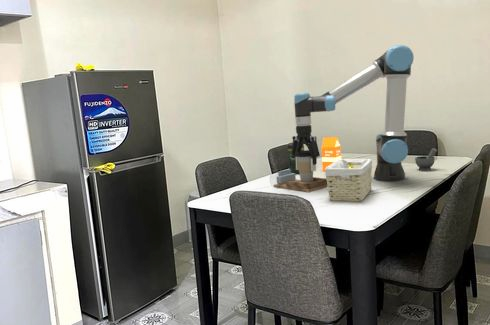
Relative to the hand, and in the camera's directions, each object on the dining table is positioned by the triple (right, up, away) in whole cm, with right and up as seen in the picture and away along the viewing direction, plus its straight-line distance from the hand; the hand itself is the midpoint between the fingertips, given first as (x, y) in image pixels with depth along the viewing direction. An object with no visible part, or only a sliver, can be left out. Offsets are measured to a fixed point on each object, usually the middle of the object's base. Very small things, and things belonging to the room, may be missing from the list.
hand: (306, 170), depth 212 cm
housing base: (-2, -8, +4) cm, 10 cm away
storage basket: (+17, -11, -22) cm, 30 cm away
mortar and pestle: (+68, -1, +20) cm, 71 cm away
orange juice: (+22, -1, +41) cm, 47 cm away
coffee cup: (0, -6, +1) cm, 6 cm away
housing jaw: (-9, -6, +12) cm, 16 cm away
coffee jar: (+1, -3, +43) cm, 43 cm away
